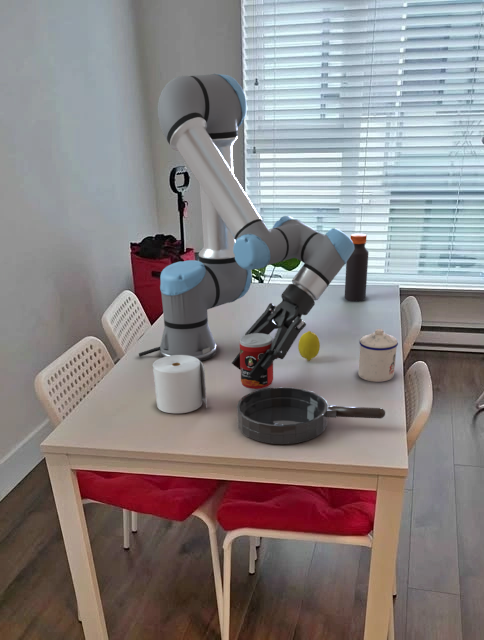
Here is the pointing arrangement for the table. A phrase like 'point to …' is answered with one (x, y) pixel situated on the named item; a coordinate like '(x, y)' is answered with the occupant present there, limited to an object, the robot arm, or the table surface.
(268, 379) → the canned food
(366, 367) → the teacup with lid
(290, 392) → the frying pan
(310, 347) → the lemon
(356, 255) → the bottle
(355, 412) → the pan handle
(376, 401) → the table surface
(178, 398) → the toilet tissue
